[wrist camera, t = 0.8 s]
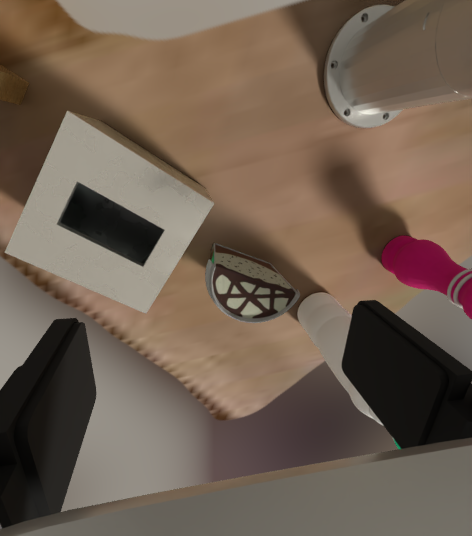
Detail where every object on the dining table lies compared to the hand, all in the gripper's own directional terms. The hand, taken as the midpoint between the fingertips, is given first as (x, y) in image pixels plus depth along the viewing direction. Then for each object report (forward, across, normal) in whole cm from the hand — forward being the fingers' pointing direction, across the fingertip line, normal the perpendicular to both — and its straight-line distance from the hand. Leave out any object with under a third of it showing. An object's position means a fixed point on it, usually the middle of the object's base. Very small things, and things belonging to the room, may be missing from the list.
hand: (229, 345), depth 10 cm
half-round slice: (+32, -7, +10) cm, 34 cm away
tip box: (+31, +7, +1) cm, 32 cm away
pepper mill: (+31, -34, +8) cm, 46 cm away
